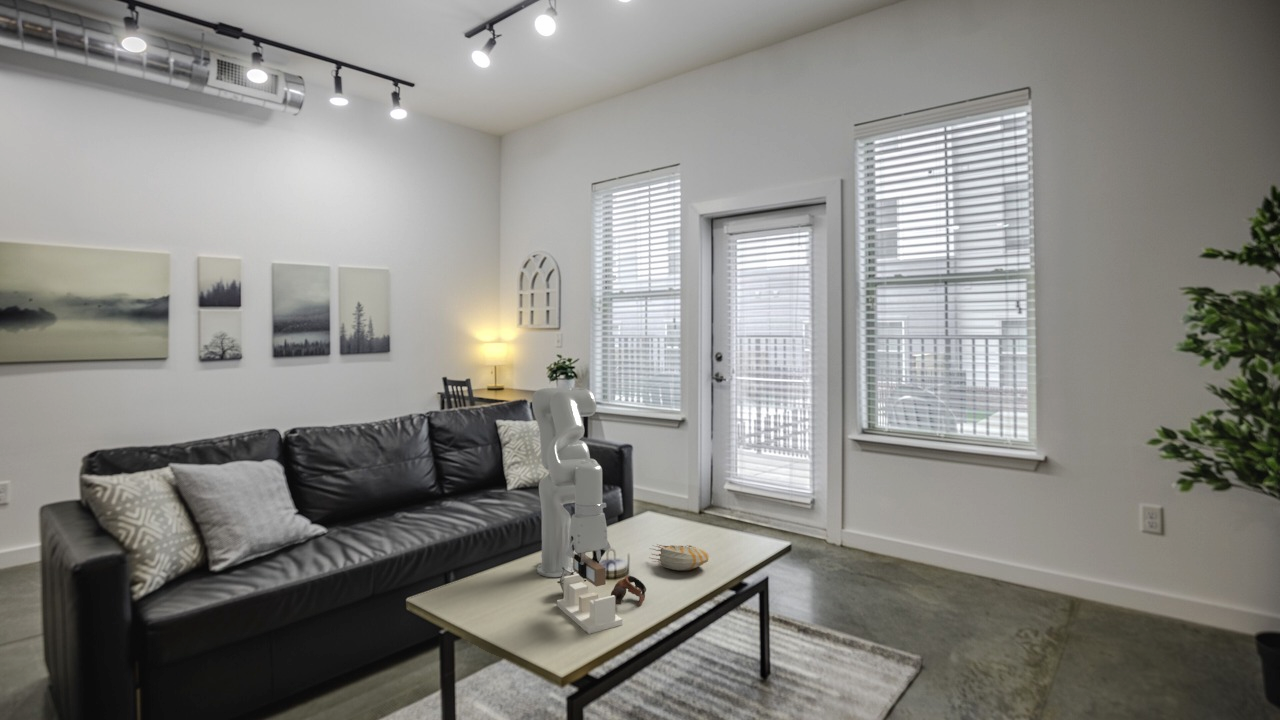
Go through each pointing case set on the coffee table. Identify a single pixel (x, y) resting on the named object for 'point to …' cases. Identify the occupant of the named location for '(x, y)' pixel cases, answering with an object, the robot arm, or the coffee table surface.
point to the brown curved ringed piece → (629, 589)
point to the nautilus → (681, 557)
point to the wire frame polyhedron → (565, 573)
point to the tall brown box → (593, 571)
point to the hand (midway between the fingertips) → (588, 575)
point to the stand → (587, 606)
